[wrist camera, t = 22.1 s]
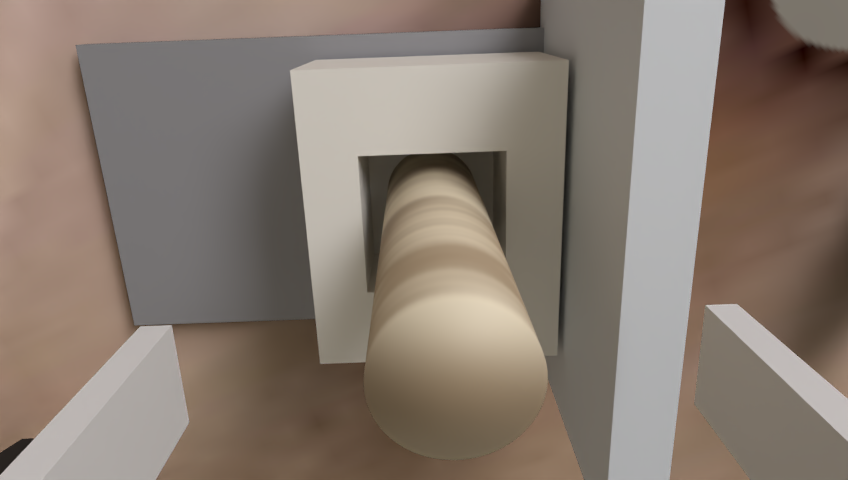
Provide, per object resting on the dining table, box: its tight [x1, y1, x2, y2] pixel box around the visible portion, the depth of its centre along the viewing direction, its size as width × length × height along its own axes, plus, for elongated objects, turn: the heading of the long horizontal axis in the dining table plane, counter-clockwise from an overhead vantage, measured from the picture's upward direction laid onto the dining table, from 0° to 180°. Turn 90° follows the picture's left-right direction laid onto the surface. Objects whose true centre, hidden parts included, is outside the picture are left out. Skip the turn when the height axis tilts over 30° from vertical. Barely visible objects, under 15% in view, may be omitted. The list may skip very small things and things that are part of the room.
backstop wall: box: [76, 0, 725, 480], centre depth 25 cm, size 18×23×14 cm
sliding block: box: [290, 52, 569, 364], centre depth 27 cm, size 12×10×6 cm
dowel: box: [363, 153, 548, 460], centre depth 21 cm, size 4×4×16 cm
